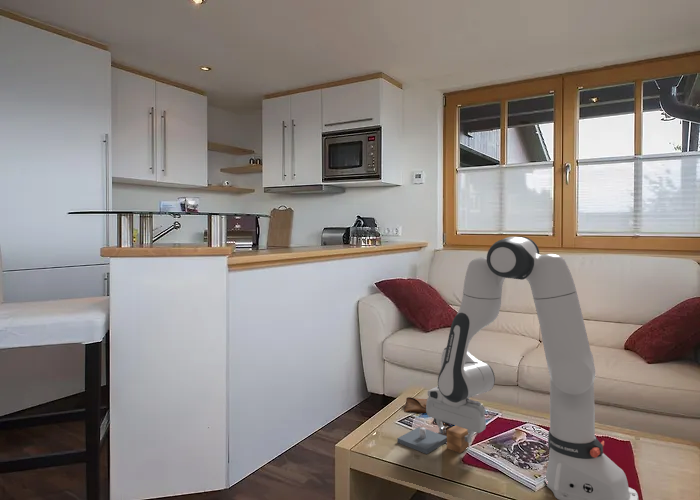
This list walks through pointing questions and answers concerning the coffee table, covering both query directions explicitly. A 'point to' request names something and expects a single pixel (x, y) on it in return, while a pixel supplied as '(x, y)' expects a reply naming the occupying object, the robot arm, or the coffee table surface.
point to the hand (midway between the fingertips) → (455, 437)
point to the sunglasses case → (415, 405)
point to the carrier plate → (422, 440)
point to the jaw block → (457, 439)
